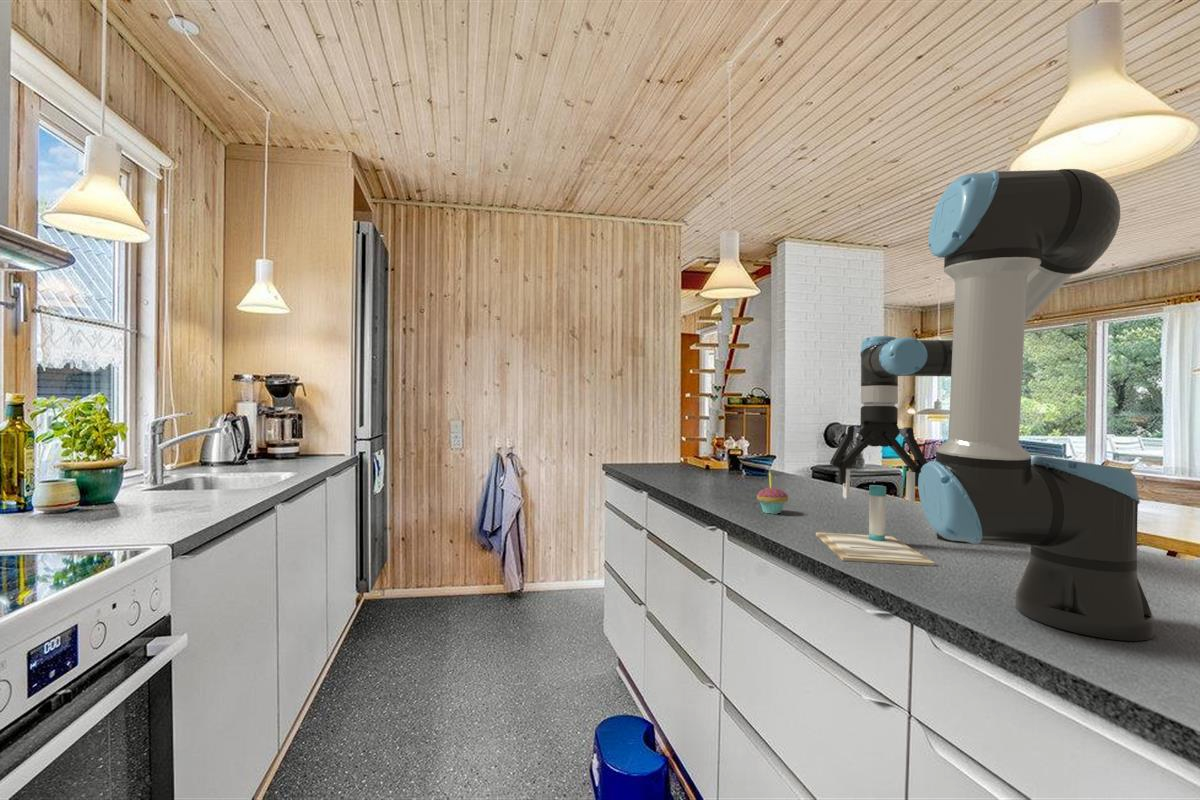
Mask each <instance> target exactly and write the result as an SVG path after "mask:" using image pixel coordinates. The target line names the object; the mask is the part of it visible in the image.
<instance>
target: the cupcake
mask: <svg viewBox="0 0 1200 800" xmlns="http://www.w3.org/2000/svg"><path fill="white" fill-rule="evenodd" d="M768 477H769V478H768V479H769V487H765V488H763V489H761V490H759V491H758V492H757V496H756V499H757V500H758V501H759V504H760V506H761V509H762V512H763V513H764V512H765V513H764V514H767V513H771V514H770V515H779V514H778V513H780V514H781V513H782V509H783V506H784V504H785V503H787V502H788V501H789V500H788V499H789V497H788V496H789V495H788V494H787V493H786V492H784V491H783V490H782V489H780V488H775V487H773V479H772V478H773V477H772V473H771V471H769V473H768Z"/></svg>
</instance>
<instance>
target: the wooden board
mask: <svg viewBox="0 0 1200 800" xmlns="http://www.w3.org/2000/svg"><path fill="white" fill-rule="evenodd" d="M815 536H816V537H817V538H819V539H820V540H821V541H822V542H823V543H824V544H825V545H826V546H827V547H828V548H829V549H830V550H831V551H832V552H833V553H834V554H835V555H836V556H837V557H839V559H841V561H844V562H845V561H847V562H861V563H862V562H863V563H877V564H878V563H879V564H881V563H882V564H897V565H912V566H914V565H915V566H926V567H927V566H928V567H935V566H936V562H935V561H933V560H931V559H929V558H928V557H926V556H925V555H923V554H921V553H920V552H918V551H917V550H915V549H913V548H912V547H911V546H909V545H907V544H905V543H903V542H902V541H900V540H899V539H897V538H895V537H894V536H891V535H890V536H889V535H885V541H875V540H870V539H869V534H857V533H855V534H854V533H836V532H835V533H834V532H822V531H821V532H815Z"/></svg>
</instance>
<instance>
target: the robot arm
mask: <svg viewBox="0 0 1200 800" xmlns="http://www.w3.org/2000/svg"><path fill="white" fill-rule="evenodd" d="M1120 220H1121V205H1120V201H1119V198H1118V195H1117V193H1116V190H1115V189H1114V188H1113V186H1112V185H1111V184H1110V183H1109V182H1108V181H1107V180H1106V179H1105V178H1103V177H1101V176H1100V175H1098V174H1096V173H1093V172H1091V171H1087V170H1085V169H1078V168H1062V169H1048V170H1047V169H1045V170H1044V169H1041V170H1040V169H1038V170H1006V171H1003V170H1002V171H1001V170H1000V171H997V170H990V171H986V172H978V173H977V172H976V173H974V172H973V173H967V174H962V175H960V176H959V177H958V178H956V179H954V180H953V181H952V182H951V183H950V184H949V185H948V186H947V188H946V189H945V190H944V191H943V193H942V194H941V196H940V198H939V200H938V202H937V204H936V205H935V208H934V211H933V214H932V217H931V220H930V225H929V230H928V239H927V240H928V241H927V242H928V246H929V251H930V253H931V254H932V255H933V256H936V257H937V258H939V259H941V258H944V259H943V260H944V261H943V263H944V264H943V266H944V267H943V272H944V273H945V274H946V275H947V276H949V277H950V278H951V279H952V280H953V282H954V301H953V302H954V304H953V325H952V329H953V330H952V339H945V340H944V339H918V338H917V339H916V338H914V337H910V336H909V337H898V338H896V337H895V336H890V335H877V336H871V337H865V338H864V339H863V340H862V341H861V348H860V353H859V354H860V383H861V384H860V404H862V405H863V406H861V407H860V425H859V427H855V426H853V425H846V426H845V428H844V429H845V430H844V436H843V437H842V439H841V441H840V442H839V445H838V446H837V448H836V450H835V452H834V454H833V456H832V457H831V460H830V461H829V465H830V466H833V467H835V468H837V469H838V482H839V483H840V484H842V498H844V499H846V500H850V499H851V469H849V468H848V467H849V466H850V465H851V464H852V463H853V462H854V460H855V459H857V458H858V456H859V455H860V454H861V453H862V452H863V451H864V450H865V449H867V448H868V447H869V446H870V447H875V448H876V447H877V448H878V447H883V448H888V447H889V448H890V449H892V450H893V451H894V452H895V454H896V455H897V456H898V457H899V458H900V459H901V461H902V462H903V463H904V464H905V465H906V466H907V467H908V468H909V470H907V471H906V494H905V495H906V496H905V497H906V501H909V502H912V503H916V487H917V488H918V497H919V501H920V506H921V509H922V512H923V514H924V516H925V518H926V520H927V522H928V524H929V525H930V527H931V528H932V530H934V532H935V533H936V534H937V533H938V534H939V535H940V536H942V537H943V538H946V539H948V540H954V541H965V542H968V543H969V544H973V545H976V544H995V545H996V544H999V545H1002V544H1003V545H1021V546H1030V555H1029V560H1028V564H1027V566H1026V568H1025V570H1024V573H1023V574H1022V576H1021V579H1020V581H1019V584H1018V587H1017V588H1016V590H1015V597H1014V599H1015V600H1014V601H1015V602H1014V603H1015V604H1014V607H1015V608H1016V610H1017V611H1018V612H1019V613H1021V614H1022V615H1024V616H1026V617H1028V618H1030V619H1032V620H1034V621H1036V622H1039V623H1042V624H1044V625H1047V626H1049V627H1053V628H1056V629H1060V630H1062V631H1063V630H1064V631H1066V632H1071V633H1076V634H1078V635H1079V634H1080V635H1083V636H1090V637H1094V638H1099V639H1100V638H1101V639H1106V640H1107V639H1108V640H1116V641H1128V642H1130V641H1131V642H1132V641H1133V642H1135V641H1136V642H1138V641H1139V642H1140V641H1147V640H1150V639H1151V640H1152V638H1154V637H1155V618H1154V615H1153V613H1152V611H1151V607H1150V605H1149V602H1148V599H1147V598H1146V595H1145V593H1144V590H1143V588H1142V585H1141V582H1140V579H1139V577H1138V513H1139V512H1138V511H1139V510H1138V509H1139V504H1140V501H1141V500H1140V498H1139V491H1138V482H1137V481H1138V480H1137V478H1136V476H1135V474H1133V473H1132V472H1131V471H1130V470H1128V469H1125V468H1122V467H1117V466H1116V467H1115V466H1109V465H1102V464H1097V463H1089V462H1082V461H1075V460H1069V459H1061V458H1054V457H1047V456H1041V455H1035V456H1033V457H1032V455H1031V454H1030V453H1028V451H1026V450H1025V448H1023V447H1022V445H1021V444H1020V427H1021V425H1020V424H1021V423H1020V421H1021V406H1022V405H1021V402H1022V387H1023V386H1022V384H1023V383H1022V380H1023V364H1024V348H1025V347H1024V344H1025V343H1024V342H1025V327H1026V326H1025V325H1026V322H1027V321H1028V320H1029V319H1031V318H1032V317H1033V316H1034V314H1035V313H1037V311H1038V310H1039V309H1040V308H1041V307H1042V306H1043V305H1045V303H1046V302H1048V300H1049V299H1050V298H1051V297H1053V295H1054V294H1055V293H1056V292H1057V291H1058V290H1059V289H1060V288H1061V287H1062V286H1063V285H1064V284H1066V282H1067V281H1068V280H1069V279H1070V278H1071V277H1072V276H1074V275H1075V276H1076V275H1079V274H1082V273H1084V272H1087V270H1089V269H1090V268H1091V267H1092V266H1093V265H1094V264H1096V262H1097V261H1098V260H1099V259H1100V258H1101V257H1102V256H1103V255H1104V254H1105V252H1106V251H1107V250H1108V249H1109V247H1110V245H1111V244H1112V242H1113V241H1114V238H1115V236H1116V235H1117V232H1118V229H1119V226H1120ZM899 377H949V378H950V394H949V396H950V397H949V413H948V414H949V415H948V416H949V420H948V438H947V439H946V441H945V442H943V443H941V445H939V446H937V447H936V450H935V452H936V453H935V460H931V461H929V462H928V461H927V459H926V457H925V456H924V454H923V452H922V450H921V448H920V446H919V444H918V442H917V440H916V438H915V433H914V428H913V427H909V426H908V427H907V426H906V427H903V428H899V426H898V424H899V423H898V422H899V421H898V418H899V412H898V411H899V410H898V407H897V406H896V405H897V404H898V403H899V393H898V392H899ZM857 434H858V435H859V436H860V437H861V439H860V440H859V441H858V442H857V444H856V445H855V446H854V447H853V448H852V449H851V450H850V451H849V453H847V455H845V453H846V452H847V451H846V450H848V448H849V445H850V444H851V443H852V441H853V438H854V437H855V436H857ZM899 435H901V438H903V439H904V441H905V443H906V445H907V446H908V449H909V450H910V453H911V455H912V456H913V458H914V459H913V458H912V457H911V456H910V455H909V454H908V452H907V451H906V450H905V449H904V448H903V447H902V446H901V444H900V442H899V441H898V440H897V437H898V436H899ZM844 455H845V457H844ZM843 457H844V458H843ZM842 458H843V459H842Z"/></svg>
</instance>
